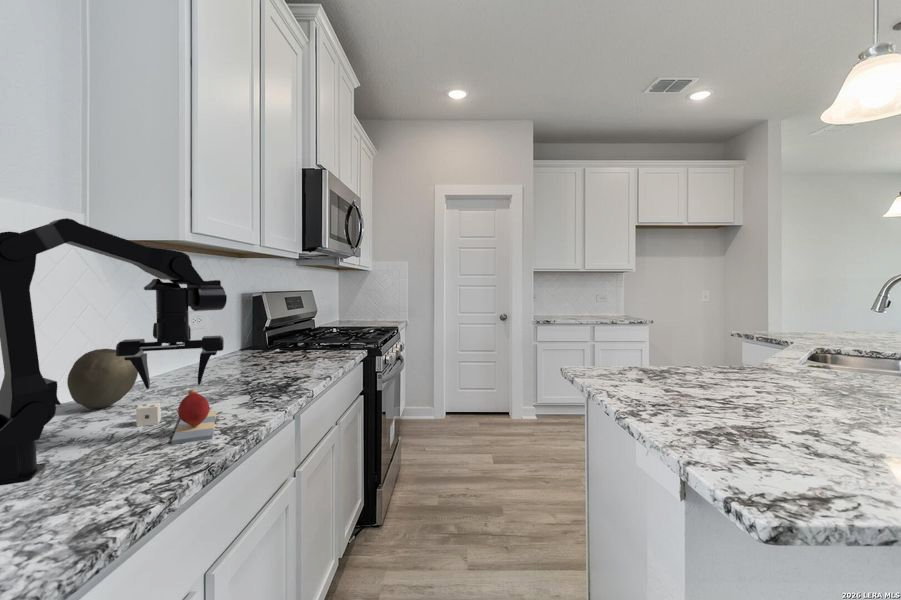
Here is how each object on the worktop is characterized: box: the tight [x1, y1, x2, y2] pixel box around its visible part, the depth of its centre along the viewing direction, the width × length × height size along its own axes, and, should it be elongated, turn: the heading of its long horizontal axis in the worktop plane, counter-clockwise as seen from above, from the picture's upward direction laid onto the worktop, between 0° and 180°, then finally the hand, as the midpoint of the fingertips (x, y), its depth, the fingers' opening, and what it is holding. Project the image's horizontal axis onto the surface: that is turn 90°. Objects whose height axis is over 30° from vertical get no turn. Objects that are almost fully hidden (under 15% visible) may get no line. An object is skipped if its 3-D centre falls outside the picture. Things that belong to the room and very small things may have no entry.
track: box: [171, 410, 217, 445], centre depth 99 cm, size 20×7×1 cm, turn 25°
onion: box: [177, 389, 211, 427], centre depth 97 cm, size 6×6×8 cm
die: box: [135, 402, 162, 427], centre depth 103 cm, size 4×4×4 cm
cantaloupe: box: [66, 348, 139, 410], centre depth 117 cm, size 14×14×15 cm
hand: (174, 386), depth 95 cm, fingers open, 9 cm apart
